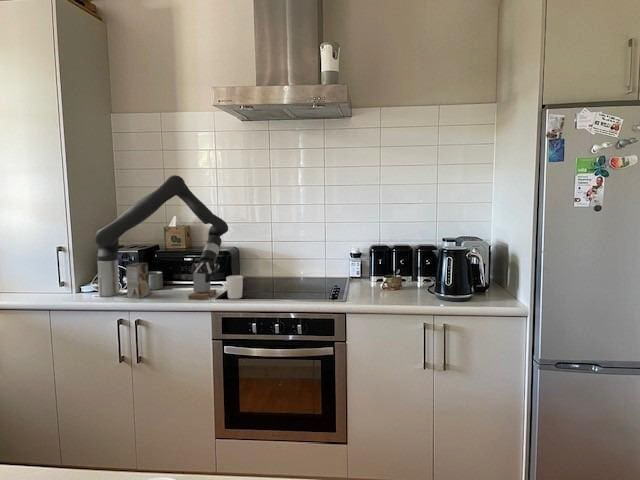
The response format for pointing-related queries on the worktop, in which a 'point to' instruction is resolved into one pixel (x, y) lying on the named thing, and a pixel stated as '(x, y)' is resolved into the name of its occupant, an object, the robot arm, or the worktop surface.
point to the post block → (201, 295)
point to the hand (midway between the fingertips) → (200, 281)
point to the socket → (200, 282)
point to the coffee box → (137, 280)
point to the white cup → (234, 286)
